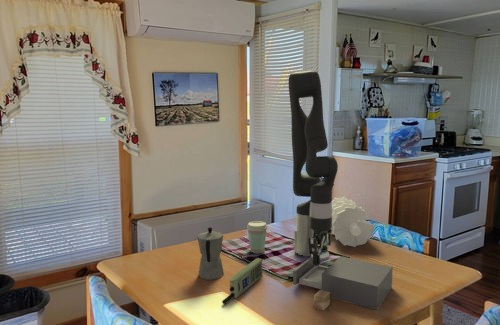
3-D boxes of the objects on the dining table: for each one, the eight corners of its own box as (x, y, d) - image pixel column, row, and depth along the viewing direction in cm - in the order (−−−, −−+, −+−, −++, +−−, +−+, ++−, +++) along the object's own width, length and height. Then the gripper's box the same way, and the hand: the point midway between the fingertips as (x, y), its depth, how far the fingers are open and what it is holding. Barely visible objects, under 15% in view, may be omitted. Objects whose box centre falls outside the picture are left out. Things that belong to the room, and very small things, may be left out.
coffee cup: (271, 249, 174) (270, 222, 172) (260, 256, 167) (260, 227, 165) (254, 246, 178) (253, 219, 177) (243, 252, 171) (242, 224, 169)
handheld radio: (264, 276, 148) (228, 307, 126) (256, 275, 150) (219, 305, 128) (263, 258, 147) (227, 286, 125) (255, 257, 149) (218, 285, 127)
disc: (324, 262, 136) (324, 256, 136) (308, 259, 139) (308, 253, 139) (331, 256, 141) (331, 251, 141) (315, 253, 144) (315, 248, 144)
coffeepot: (200, 267, 156) (199, 222, 153) (225, 267, 156) (224, 222, 153) (195, 285, 141) (193, 235, 138) (222, 285, 141) (221, 235, 138)
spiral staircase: (345, 258, 174) (329, 236, 198) (382, 240, 173) (362, 220, 198) (327, 222, 170) (314, 204, 194) (366, 203, 169) (347, 187, 194)
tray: (291, 283, 138) (291, 269, 137) (313, 266, 153) (313, 253, 152) (342, 297, 128) (342, 282, 127) (360, 277, 143) (361, 263, 142)
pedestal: (314, 307, 125) (314, 295, 124) (320, 301, 128) (320, 289, 128) (323, 310, 123) (324, 297, 122) (329, 304, 127) (329, 292, 126)
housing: (321, 295, 133) (321, 273, 132) (340, 276, 147) (341, 256, 146) (376, 309, 123) (377, 286, 122) (391, 288, 137) (392, 266, 136)
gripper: (322, 221, 130) (321, 271, 133) (339, 211, 142) (338, 257, 144) (301, 218, 134) (300, 266, 137) (319, 208, 146) (318, 253, 148)
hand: (320, 261), depth 140 cm, fingers closed on disc, 6 cm apart
